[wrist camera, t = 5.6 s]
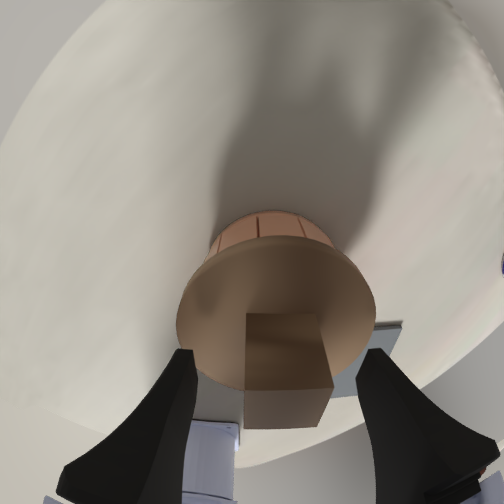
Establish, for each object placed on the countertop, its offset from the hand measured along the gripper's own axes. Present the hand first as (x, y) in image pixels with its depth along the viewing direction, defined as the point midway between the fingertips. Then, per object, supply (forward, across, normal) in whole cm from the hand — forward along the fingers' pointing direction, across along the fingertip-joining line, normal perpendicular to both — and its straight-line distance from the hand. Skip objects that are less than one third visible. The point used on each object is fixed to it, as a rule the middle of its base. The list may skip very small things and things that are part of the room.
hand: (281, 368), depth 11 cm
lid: (+3, 0, 0) cm, 3 cm away
